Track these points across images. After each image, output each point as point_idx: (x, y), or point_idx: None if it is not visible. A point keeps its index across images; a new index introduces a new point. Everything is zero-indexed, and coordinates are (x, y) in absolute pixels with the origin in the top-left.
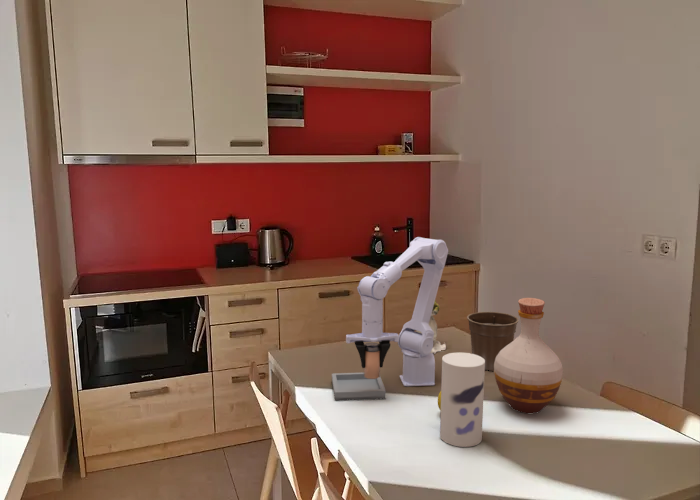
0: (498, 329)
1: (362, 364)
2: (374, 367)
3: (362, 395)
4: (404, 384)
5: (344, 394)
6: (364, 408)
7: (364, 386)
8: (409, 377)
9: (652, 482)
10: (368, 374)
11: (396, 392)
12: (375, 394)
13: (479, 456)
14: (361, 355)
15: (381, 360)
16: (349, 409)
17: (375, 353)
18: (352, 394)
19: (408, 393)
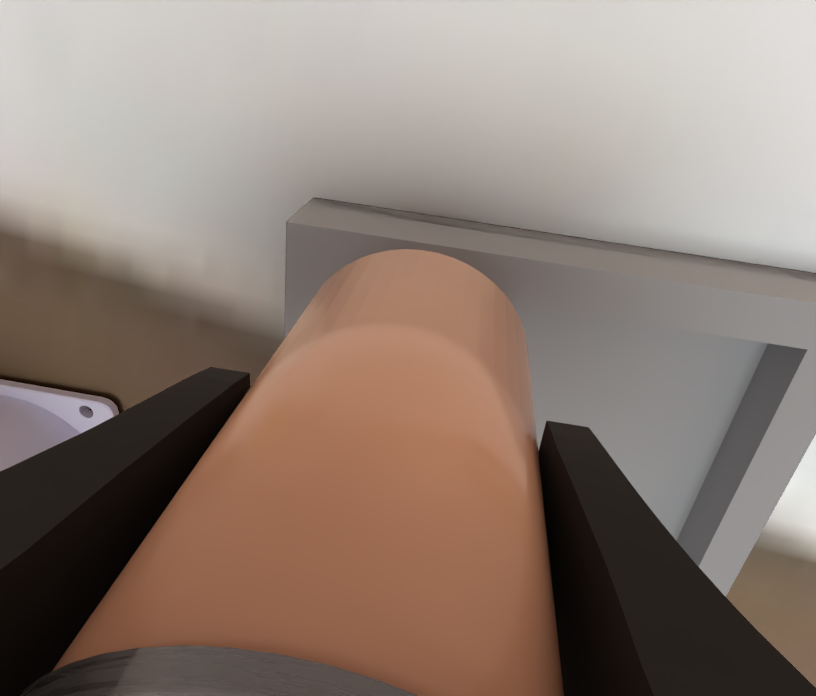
0: None
1: (614, 464)
2: (368, 332)
3: (546, 246)
4: (106, 413)
5: (751, 284)
6: (597, 7)
7: None
8: (31, 454)
9: None
10: (491, 308)
11: (193, 314)
12: (406, 227)
13: None
14: (739, 656)
15: (152, 432)
16: (781, 15)
17: (221, 589)
18: (659, 269)
19: (91, 270)
